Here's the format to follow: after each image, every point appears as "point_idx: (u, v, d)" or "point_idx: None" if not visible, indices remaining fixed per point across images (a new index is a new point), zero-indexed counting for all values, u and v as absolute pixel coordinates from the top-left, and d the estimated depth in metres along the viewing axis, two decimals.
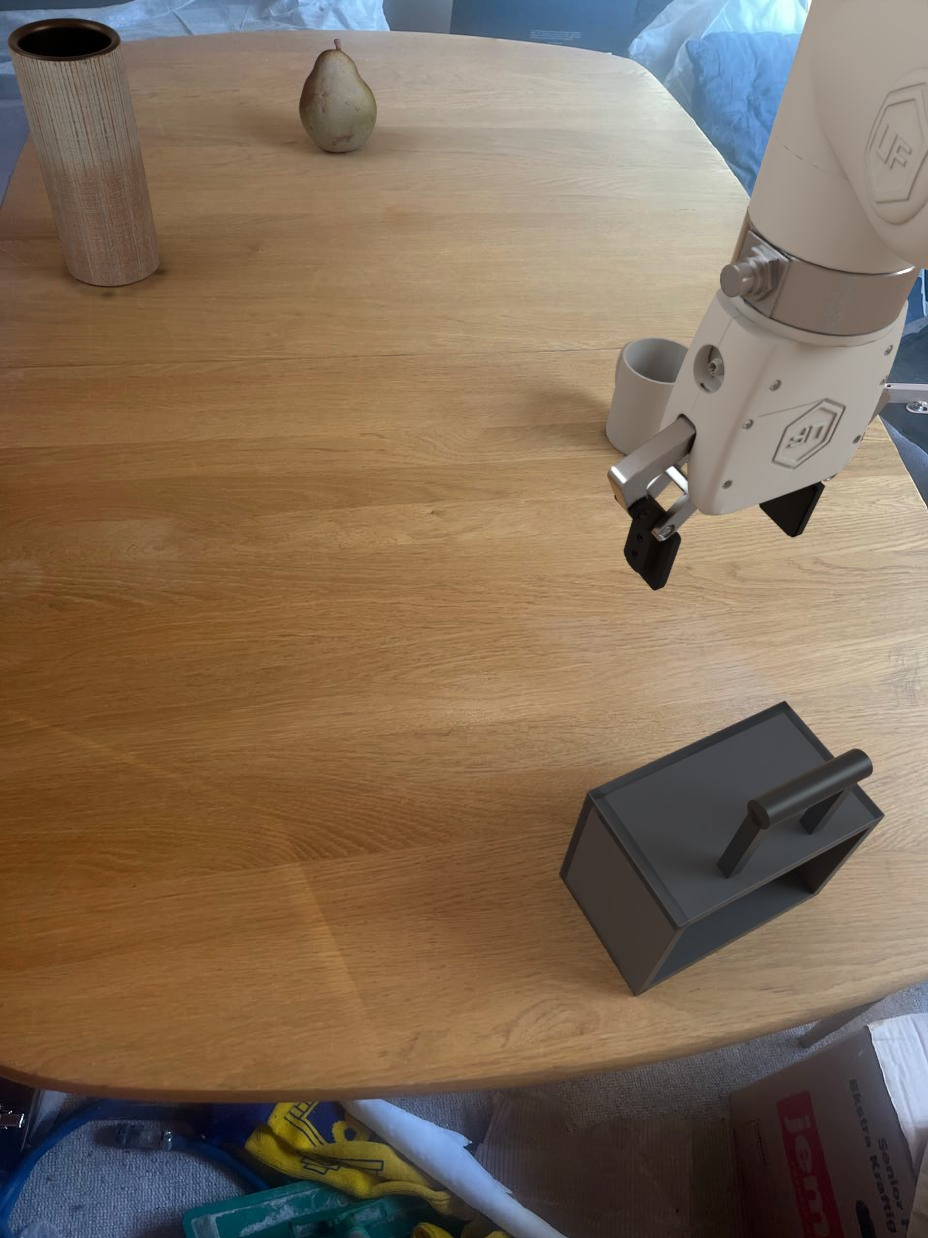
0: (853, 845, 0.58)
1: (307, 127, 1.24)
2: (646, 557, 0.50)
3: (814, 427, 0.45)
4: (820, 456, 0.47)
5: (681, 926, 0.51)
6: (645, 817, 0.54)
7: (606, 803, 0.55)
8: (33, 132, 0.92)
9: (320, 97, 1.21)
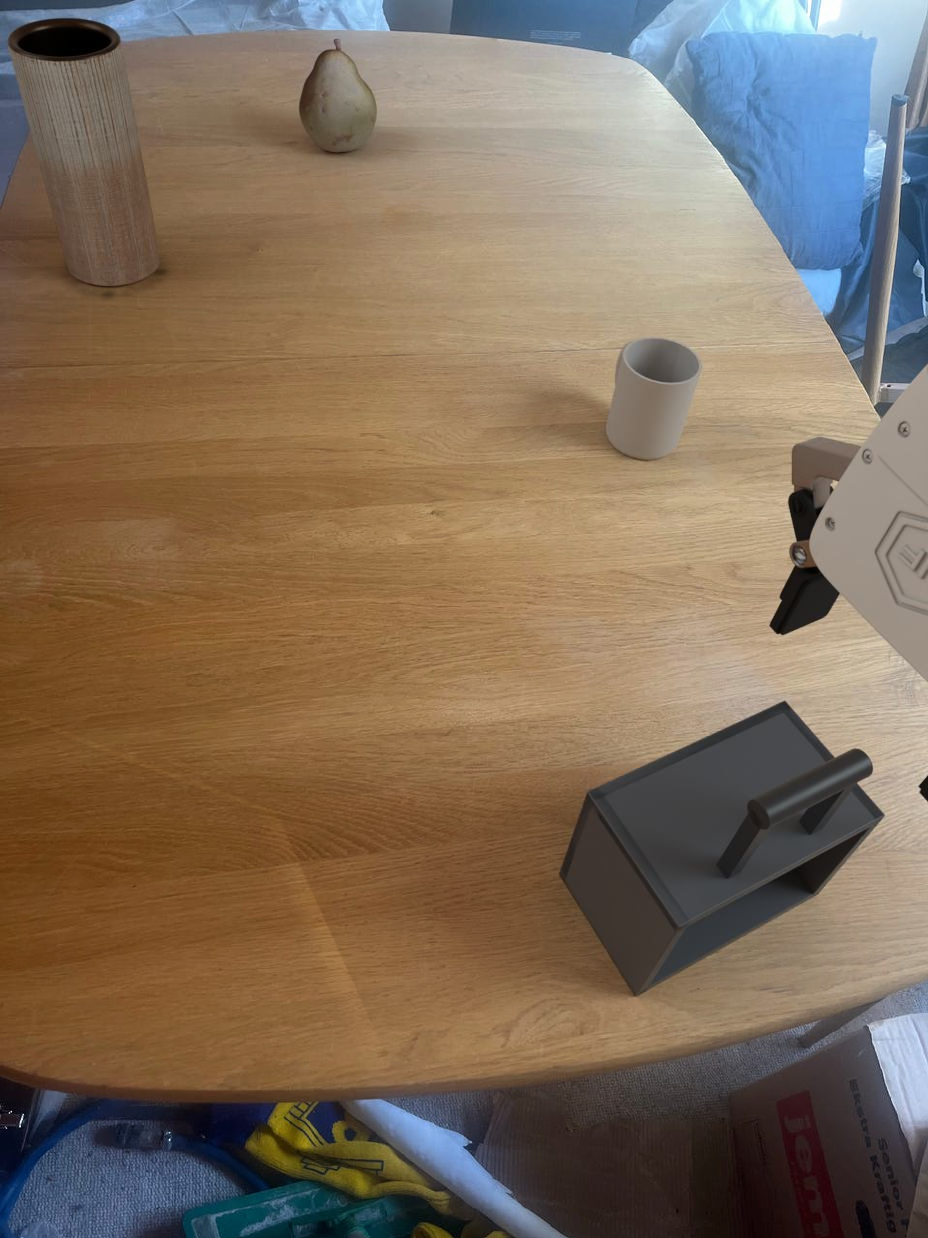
0: (853, 845, 0.58)
1: (307, 127, 1.24)
2: (787, 581, 0.44)
3: None
4: None
5: (681, 926, 0.51)
6: (645, 817, 0.54)
7: (606, 803, 0.55)
8: (33, 132, 0.92)
9: (320, 97, 1.21)
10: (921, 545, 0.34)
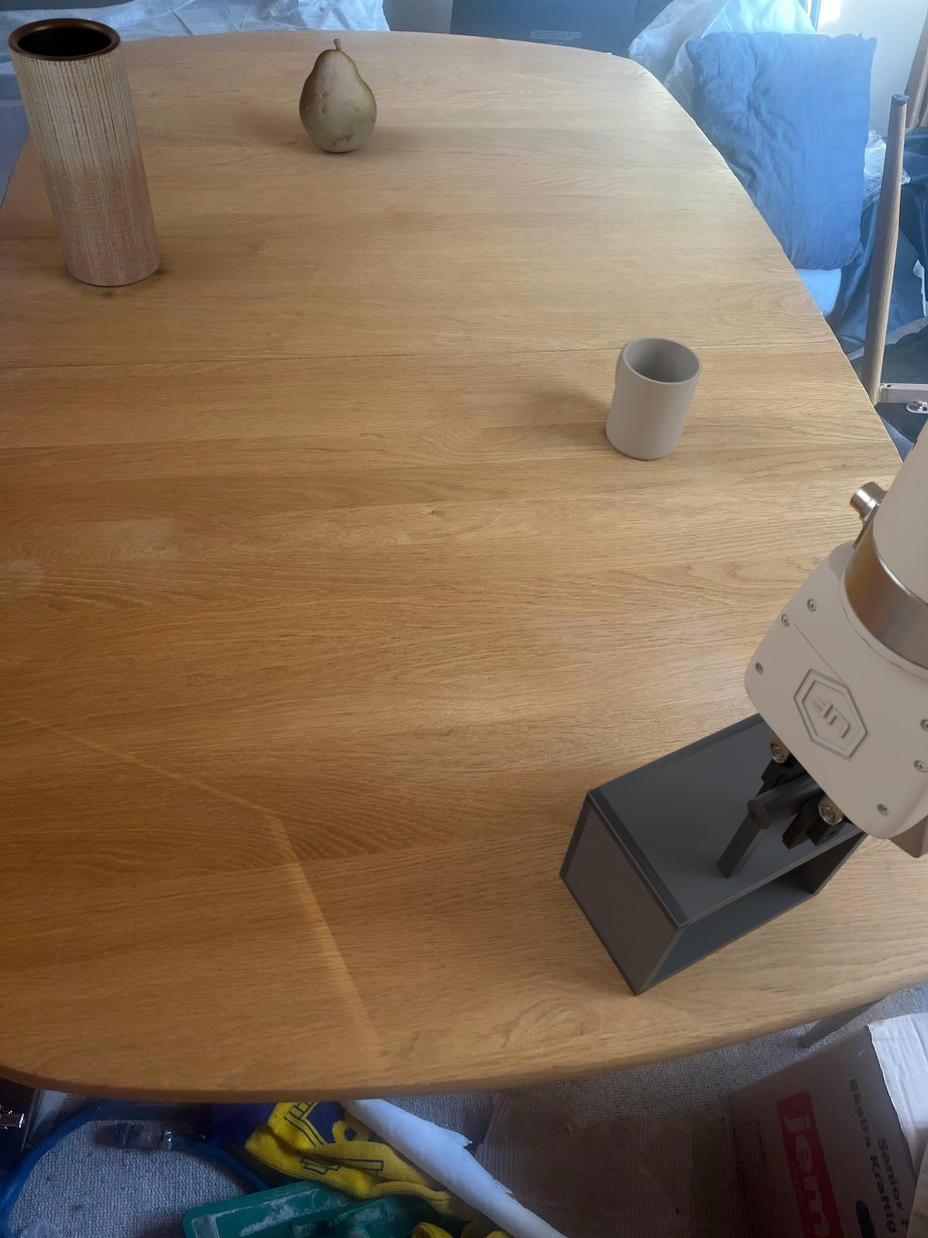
0: (853, 845, 0.58)
1: (307, 127, 1.24)
2: (767, 767, 0.50)
3: (835, 712, 0.41)
4: (839, 768, 0.42)
5: (681, 926, 0.51)
6: (645, 817, 0.54)
7: (606, 803, 0.55)
8: (33, 132, 0.92)
9: (320, 97, 1.21)
10: (828, 698, 0.41)
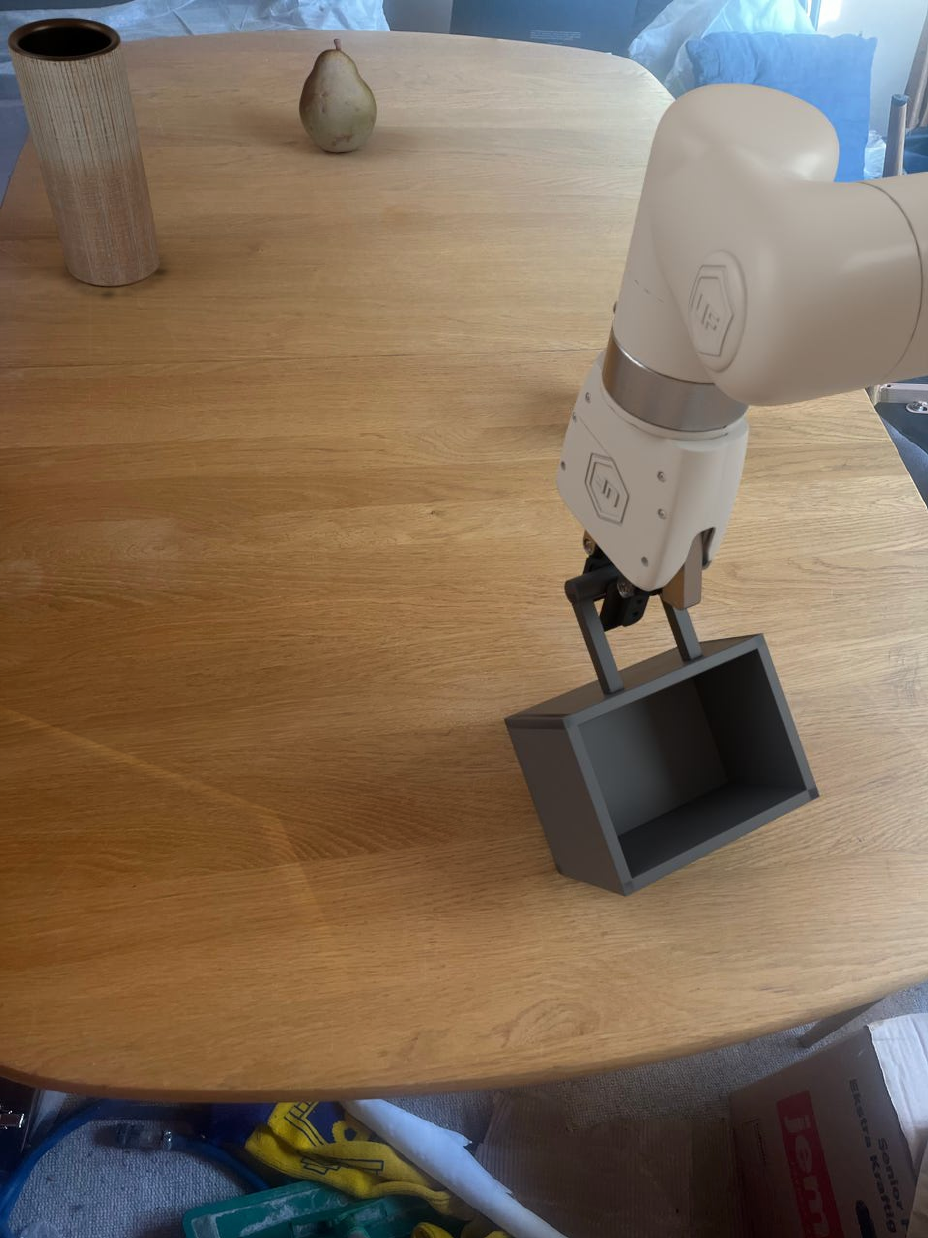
0: (769, 685, 0.60)
1: (307, 127, 1.24)
2: None
3: (608, 485, 0.51)
4: (616, 534, 0.52)
5: (565, 718, 0.55)
6: (548, 706, 0.62)
7: (517, 715, 0.63)
8: (33, 132, 0.92)
9: (320, 97, 1.21)
10: (604, 475, 0.52)
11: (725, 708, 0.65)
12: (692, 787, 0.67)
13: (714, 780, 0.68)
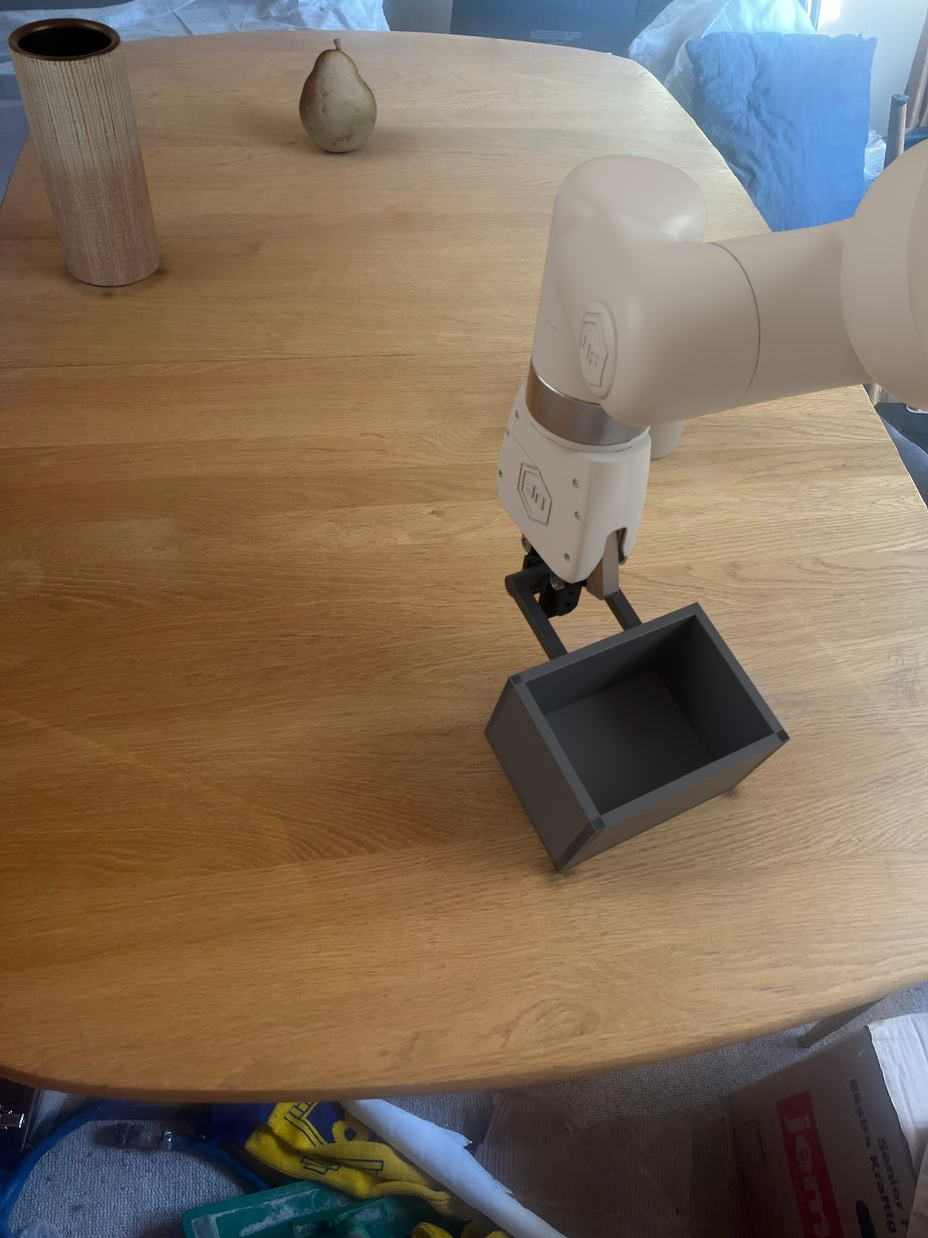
0: (714, 644, 0.64)
1: (307, 127, 1.24)
2: None
3: (536, 491, 0.59)
4: (544, 533, 0.60)
5: (511, 676, 0.60)
6: None
7: None
8: (33, 132, 0.92)
9: (320, 97, 1.21)
10: (532, 482, 0.59)
11: (695, 697, 0.68)
12: None
13: None
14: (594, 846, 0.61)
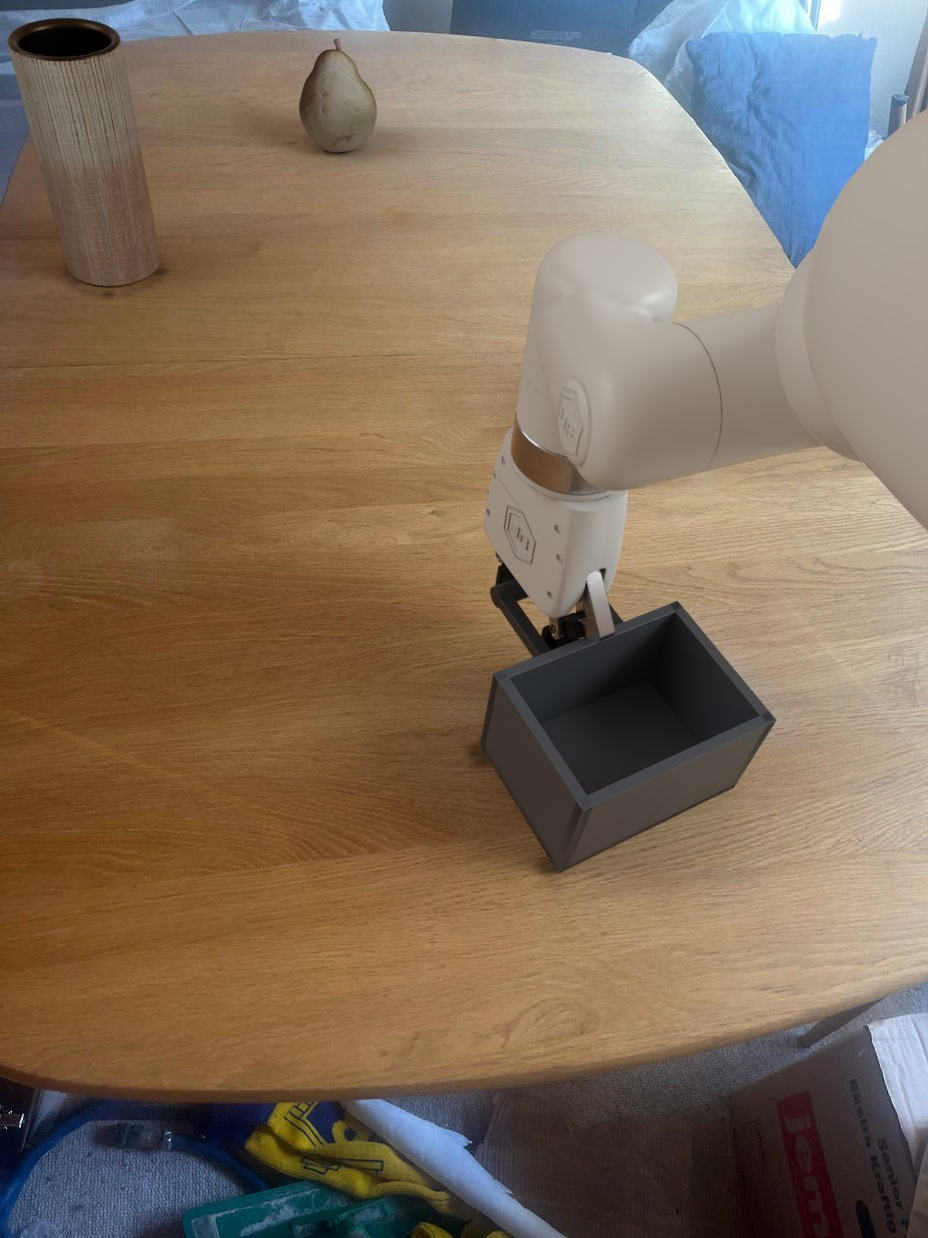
0: (695, 637, 0.66)
1: (307, 127, 1.24)
2: None
3: (520, 532, 0.63)
4: (528, 571, 0.64)
5: (496, 673, 0.62)
6: None
7: None
8: (33, 132, 0.92)
9: (320, 97, 1.21)
10: (517, 524, 0.63)
11: (686, 698, 0.69)
12: None
13: None
14: (588, 837, 0.61)
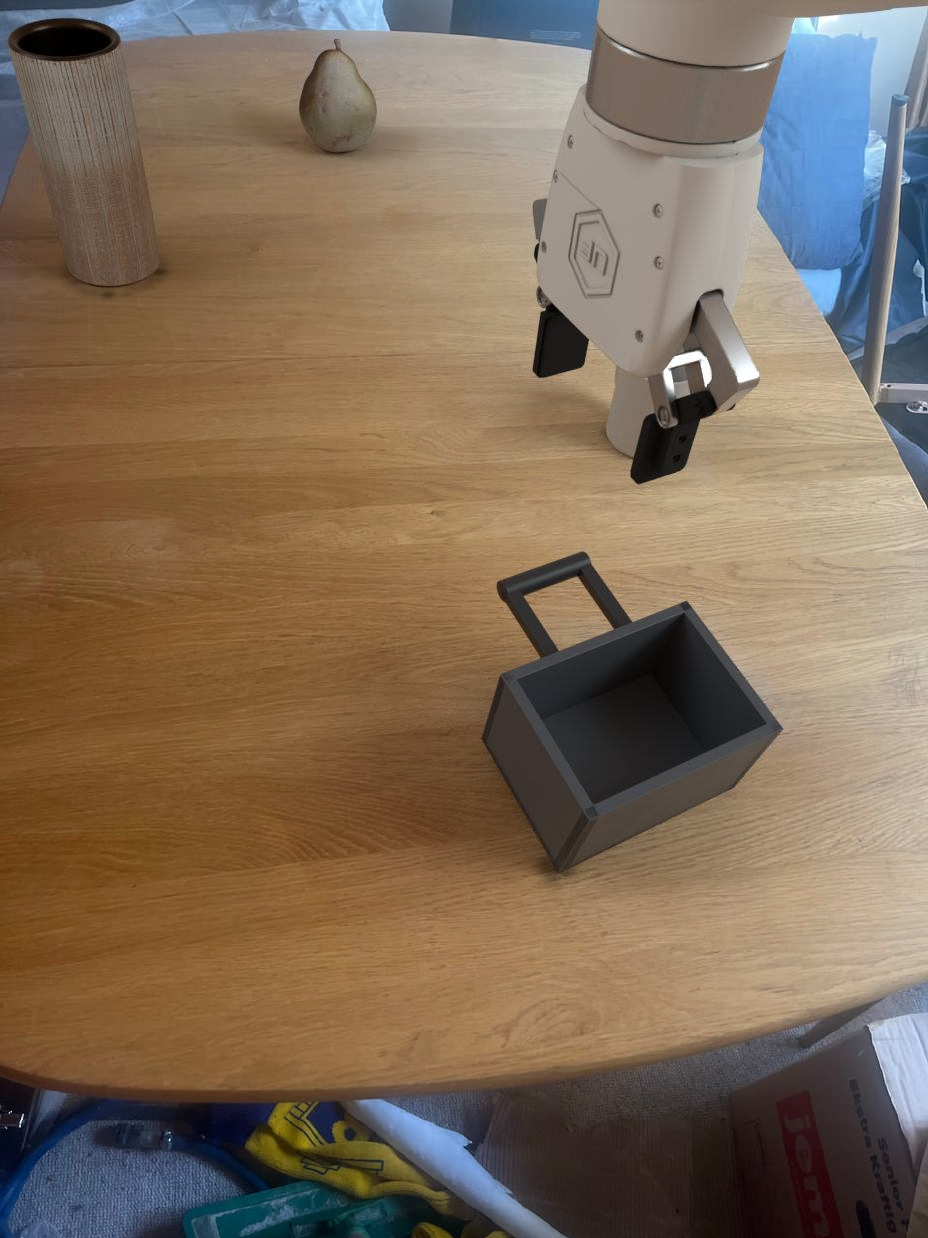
0: (704, 640, 0.65)
1: (307, 127, 1.24)
2: None
3: (596, 248, 0.43)
4: (605, 311, 0.44)
5: (503, 674, 0.61)
6: None
7: None
8: (33, 132, 0.92)
9: (320, 97, 1.21)
10: (590, 237, 0.43)
11: (691, 697, 0.69)
12: None
13: None
14: (591, 841, 0.61)
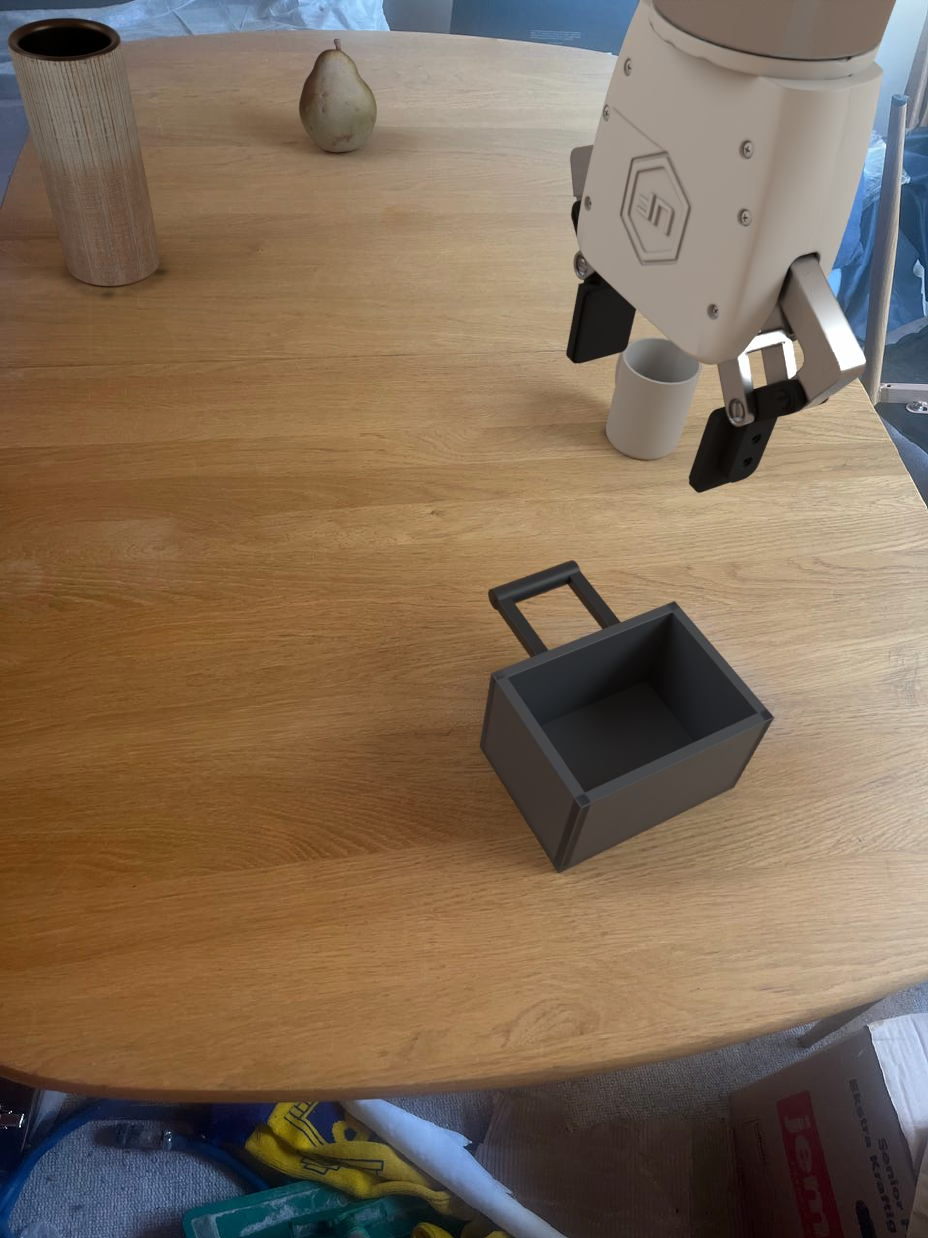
0: (693, 637, 0.66)
1: (307, 127, 1.24)
2: None
3: (658, 201, 0.35)
4: (668, 280, 0.36)
5: (494, 672, 0.63)
6: None
7: None
8: (33, 132, 0.92)
9: (320, 97, 1.21)
10: (651, 188, 0.35)
11: (685, 698, 0.69)
12: None
13: None
14: (588, 835, 0.61)
